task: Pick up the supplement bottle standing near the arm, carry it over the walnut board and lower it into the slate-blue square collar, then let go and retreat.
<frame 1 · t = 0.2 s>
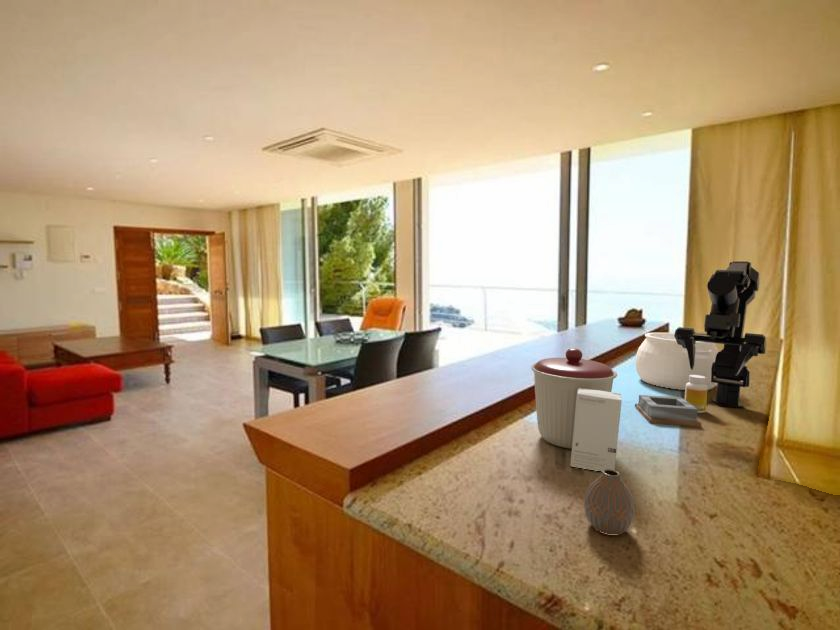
hand: (713, 371, 113), 15 cm above the worktop, tool tilted 30°, fingers open, 9 cm apart
supplement bottle: (694, 411, 131), on the worktop
socket board: (665, 416, 125), on the worktop
skincare box: (593, 467, 92), on the worktop
pot: (675, 384, 162), on the worktop
canister: (568, 441, 105), on the worktop
vase: (607, 529, 70), on the worktop
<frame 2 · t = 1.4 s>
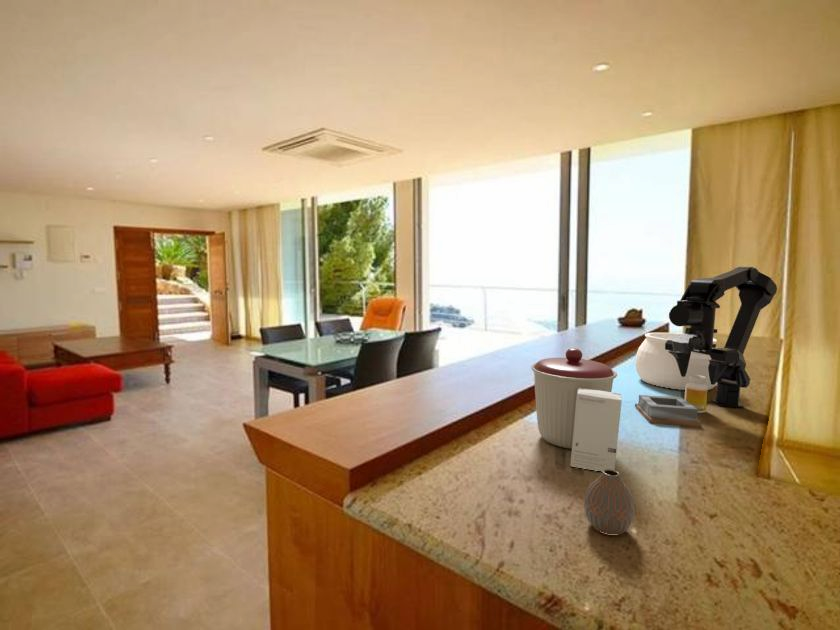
hand: (697, 380, 130), 9 cm above the worktop, tool pointing down, fingers open, 9 cm apart
nothing on the worktop moved.
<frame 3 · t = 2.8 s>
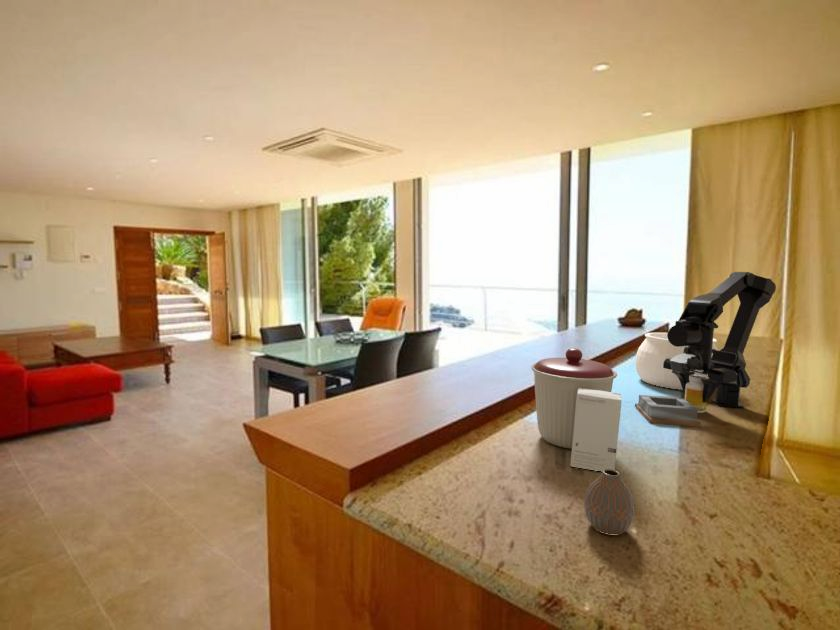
hand: (695, 399, 131), 3 cm above the worktop, tool pointing down, fingers closed on supplement bottle, 5 cm apart
supplement bottle: (694, 411, 131), on the worktop, touching gripper
everything else where it was.
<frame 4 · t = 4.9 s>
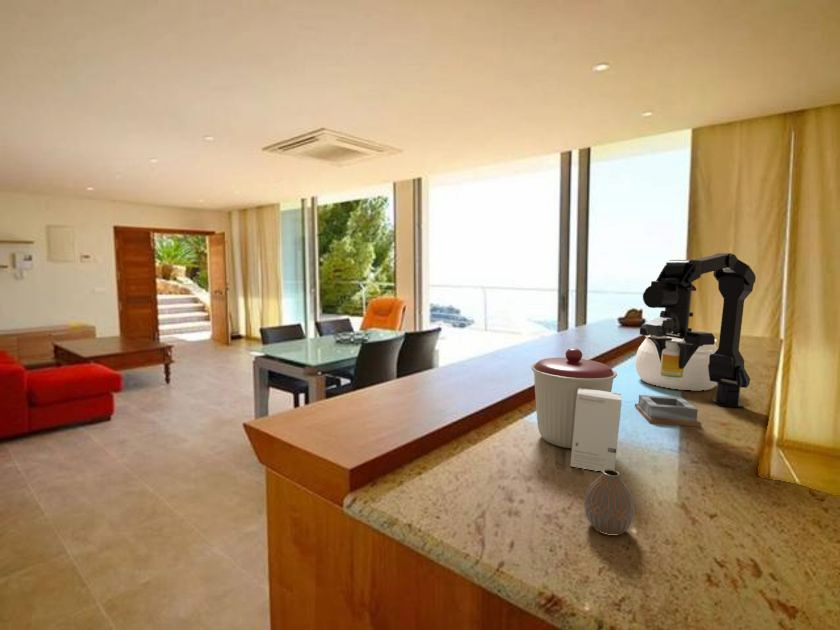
hand: (672, 366, 124), 13 cm above the worktop, tool pointing down, fingers closed on supplement bottle, 5 cm apart
supplement bottle: (670, 378, 124), point 10 cm above the worktop, touching gripper
everything else where it was.
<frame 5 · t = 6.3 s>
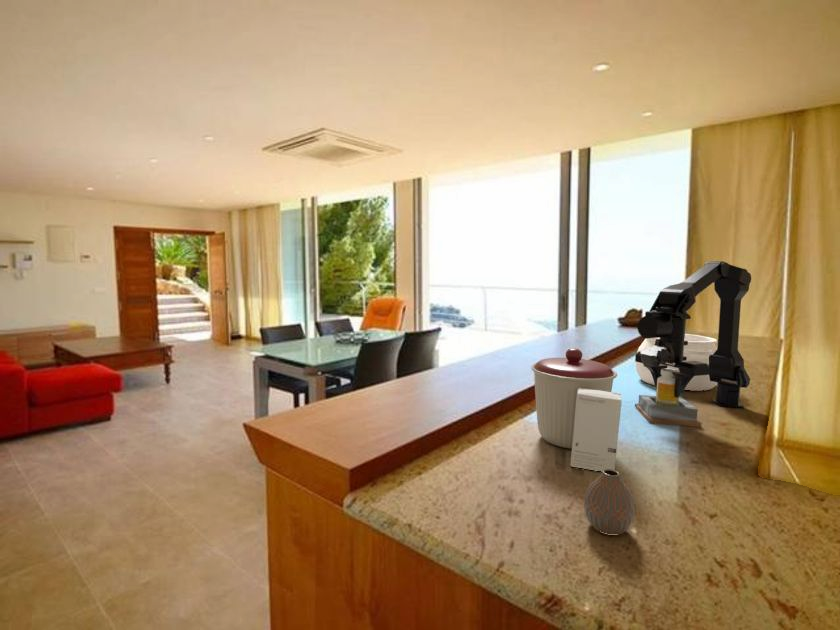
hand: (667, 394, 124), 6 cm above the worktop, tool pointing down, fingers closed on supplement bottle, 5 cm apart
supplement bottle: (666, 406, 125), point 3 cm above the worktop, touching gripper
everything else where it was.
when the fingers open (5 cm above the worktop, at t = 7.2 s): supplement bottle drops 1 cm, resting on socket board.
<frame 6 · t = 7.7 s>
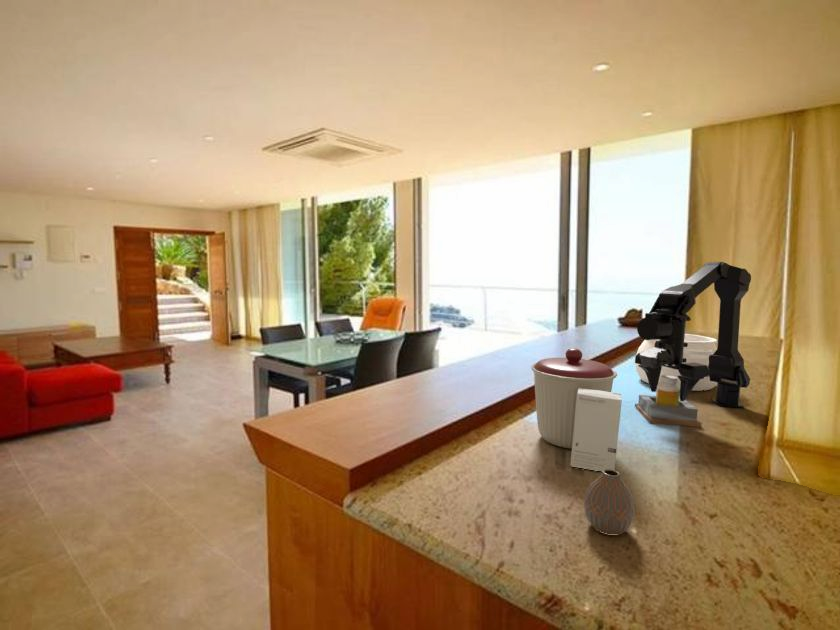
hand: (667, 396, 124), 5 cm above the worktop, tool pointing down, fingers open, 9 cm apart
supplement bottle: (666, 413, 125), point 1 cm above the worktop, touching socket board
everything else where it was.
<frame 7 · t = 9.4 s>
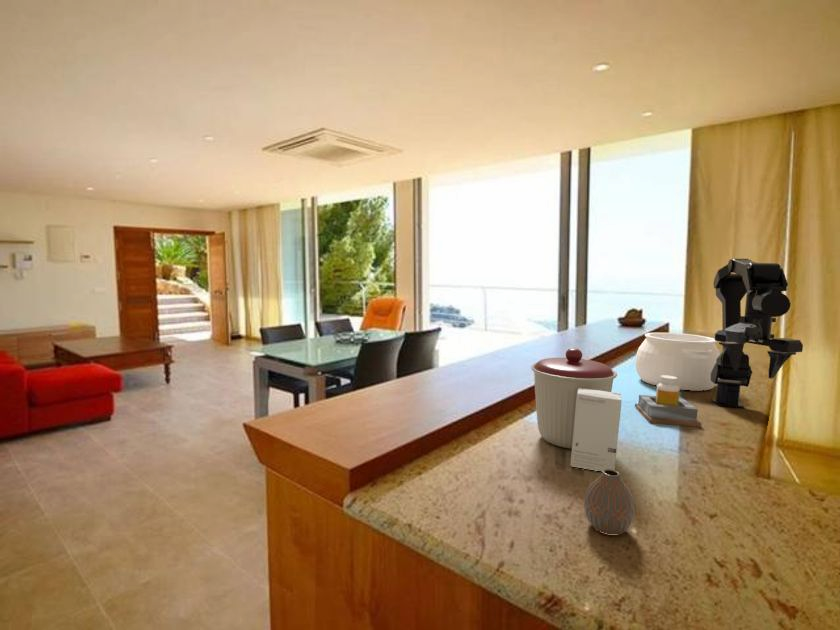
hand: (752, 374, 119), 13 cm above the worktop, tool pointing down, fingers open, 9 cm apart
nothing on the worktop moved.
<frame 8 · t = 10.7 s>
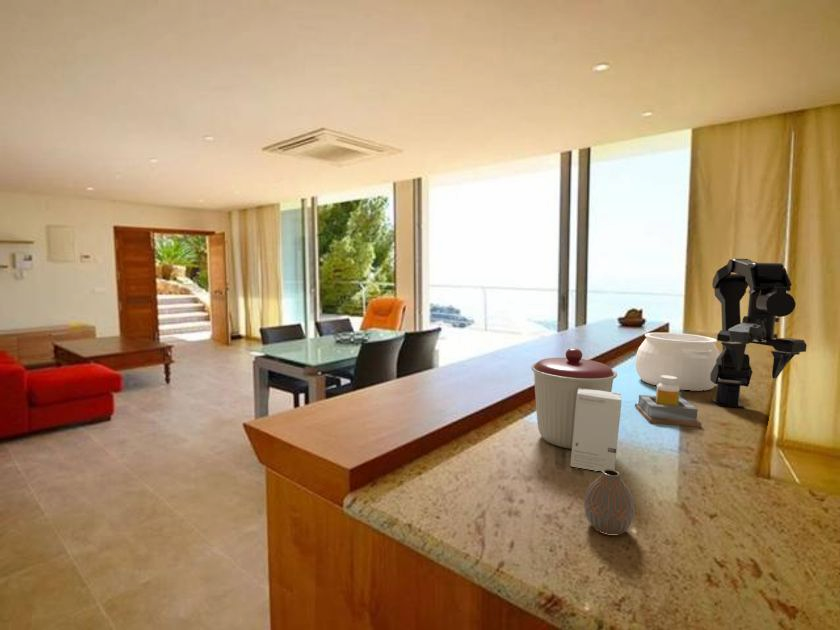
hand: (755, 374, 119), 13 cm above the worktop, tool pointing down, fingers open, 9 cm apart
nothing on the worktop moved.
at the end: supplement bottle 0.1 cm from the socket board (horizontally); supplement bottle point 0.8 cm above the worktop; supplement bottle tilted 0° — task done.
